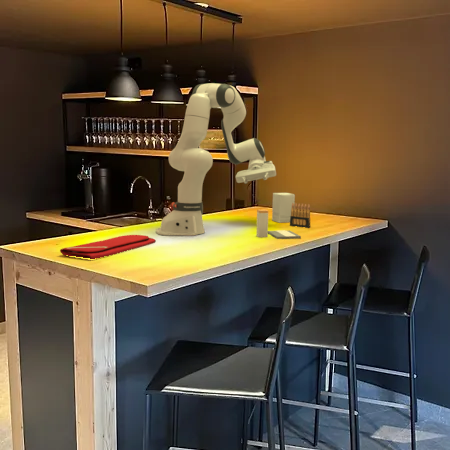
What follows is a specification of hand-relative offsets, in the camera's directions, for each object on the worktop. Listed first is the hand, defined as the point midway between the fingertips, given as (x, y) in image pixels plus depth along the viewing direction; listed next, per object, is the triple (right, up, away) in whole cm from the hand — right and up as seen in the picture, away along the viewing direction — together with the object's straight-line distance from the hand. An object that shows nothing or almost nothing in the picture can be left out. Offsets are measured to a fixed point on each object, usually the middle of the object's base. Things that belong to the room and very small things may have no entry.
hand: (255, 180), depth 276 cm
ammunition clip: (+23, -23, +11) cm, 34 cm away
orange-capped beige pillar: (+2, -27, -18) cm, 32 cm away
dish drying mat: (-60, -32, -51) cm, 85 cm away
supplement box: (+16, -20, +28) cm, 38 cm away
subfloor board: (+12, -27, -15) cm, 33 cm away
